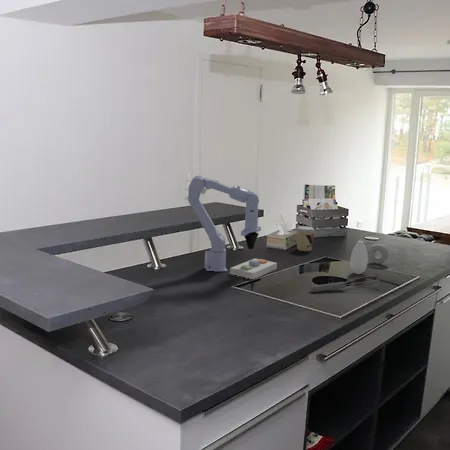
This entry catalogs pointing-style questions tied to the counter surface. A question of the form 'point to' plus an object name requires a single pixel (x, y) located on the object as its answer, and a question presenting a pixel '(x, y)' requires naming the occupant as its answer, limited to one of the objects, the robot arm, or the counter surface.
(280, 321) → the counter surface
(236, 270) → the button panel
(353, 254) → the sauce bottle
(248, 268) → the sage green button
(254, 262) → the slate blue button
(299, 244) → the coffee cup
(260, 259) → the terracotta button
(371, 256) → the donut
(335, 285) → the kitchen whisk
